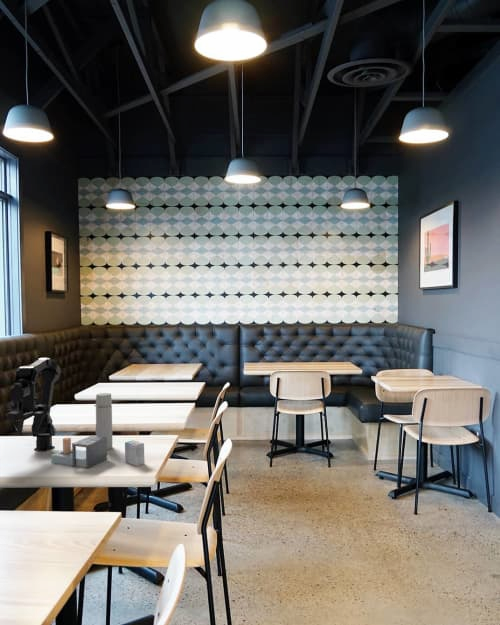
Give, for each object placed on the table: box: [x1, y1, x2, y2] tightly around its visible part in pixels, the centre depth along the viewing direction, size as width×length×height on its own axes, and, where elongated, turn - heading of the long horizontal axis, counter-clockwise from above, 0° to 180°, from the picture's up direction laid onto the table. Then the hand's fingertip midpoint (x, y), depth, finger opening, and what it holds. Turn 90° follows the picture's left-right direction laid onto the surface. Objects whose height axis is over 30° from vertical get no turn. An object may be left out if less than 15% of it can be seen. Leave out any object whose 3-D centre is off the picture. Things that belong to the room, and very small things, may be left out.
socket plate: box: [50, 448, 86, 468], centre depth 209 cm, size 10×19×3 cm, turn 69°
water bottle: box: [94, 392, 113, 451], centre depth 227 cm, size 9×8×25 cm
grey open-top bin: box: [71, 435, 108, 469], centre depth 207 cm, size 12×8×10 cm, turn 159°
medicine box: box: [124, 439, 145, 467], centre depth 206 cm, size 8×4×9 cm, turn 47°
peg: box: [62, 437, 72, 455], centre depth 211 cm, size 3×3×9 cm
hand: (28, 432), depth 210 cm, fingers open, 9 cm apart
